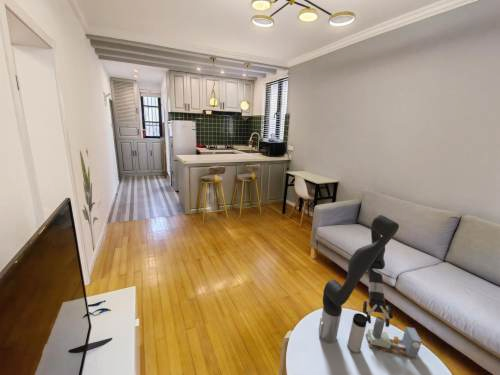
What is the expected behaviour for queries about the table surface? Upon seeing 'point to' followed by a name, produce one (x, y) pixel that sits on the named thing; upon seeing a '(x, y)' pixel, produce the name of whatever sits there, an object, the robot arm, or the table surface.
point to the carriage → (379, 334)
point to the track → (393, 348)
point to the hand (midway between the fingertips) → (378, 325)
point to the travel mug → (357, 332)
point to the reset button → (397, 340)
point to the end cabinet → (411, 341)
